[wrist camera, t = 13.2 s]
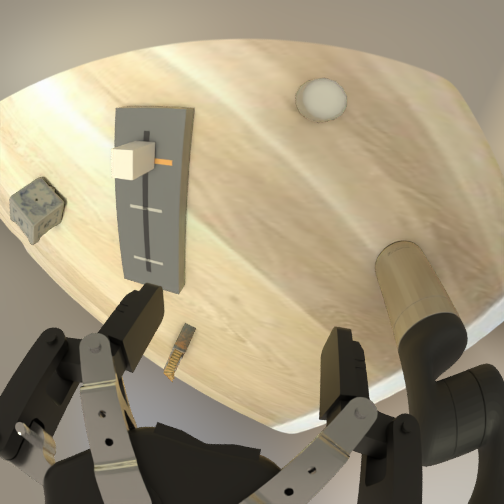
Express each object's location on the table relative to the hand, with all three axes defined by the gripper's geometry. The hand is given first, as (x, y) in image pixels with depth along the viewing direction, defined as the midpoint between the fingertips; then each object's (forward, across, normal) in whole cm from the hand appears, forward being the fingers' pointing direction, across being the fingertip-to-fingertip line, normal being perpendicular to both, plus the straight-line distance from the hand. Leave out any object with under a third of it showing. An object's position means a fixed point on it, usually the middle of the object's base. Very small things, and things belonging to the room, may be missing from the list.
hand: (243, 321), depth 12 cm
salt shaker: (+30, -2, -10) cm, 32 cm away
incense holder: (+30, +48, +13) cm, 58 cm away
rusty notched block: (+31, +15, +42) cm, 54 cm away
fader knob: (+27, +20, 0) cm, 34 cm away
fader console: (+30, +20, +9) cm, 37 cm away
